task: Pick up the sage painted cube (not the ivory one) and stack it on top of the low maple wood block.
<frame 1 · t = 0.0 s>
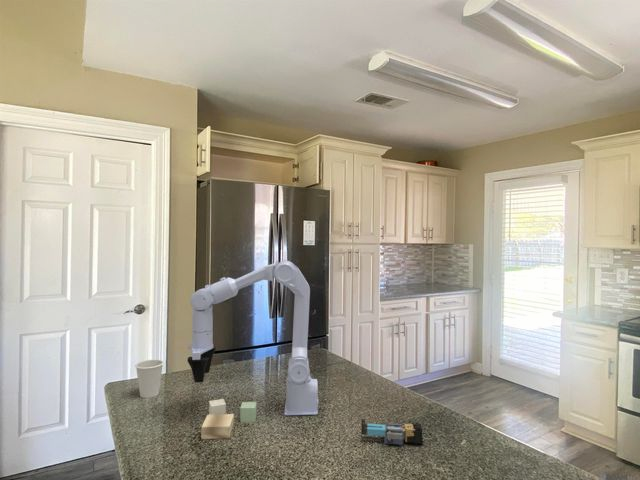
hand: (202, 377, 112), 10 cm above the countertop, fingers open, 7 cm apart
ivory block: (217, 416, 109), on the countertop
toy: (391, 442, 96), on the countertop
sage block: (248, 419, 108), on the countertop
maple block: (218, 431, 100), on the countertop
dixie cup: (149, 394, 124), on the countertop
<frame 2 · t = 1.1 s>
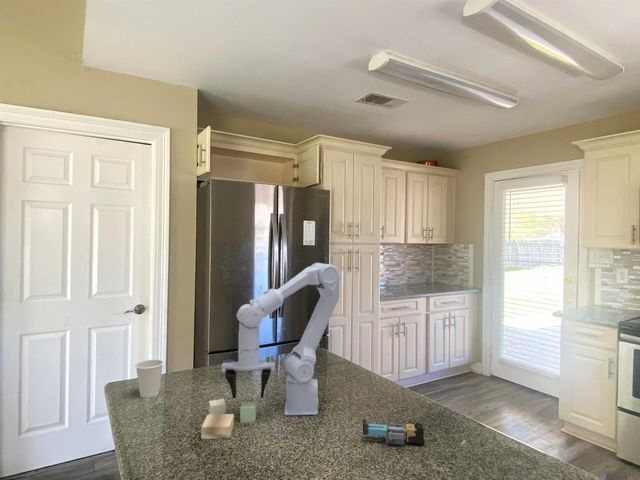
hand: (248, 396, 108), 6 cm above the countertop, fingers open, 7 cm apart
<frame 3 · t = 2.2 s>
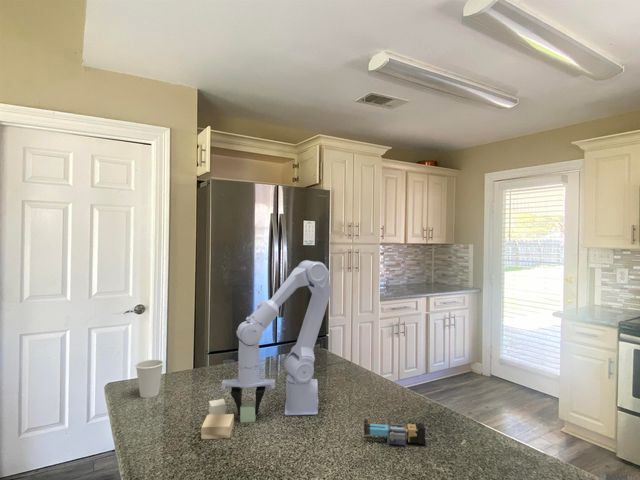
hand: (248, 413, 108), 1 cm above the countertop, fingers closed on sage block, 4 cm apart
sage block: (248, 418, 108), on the countertop, touching gripper
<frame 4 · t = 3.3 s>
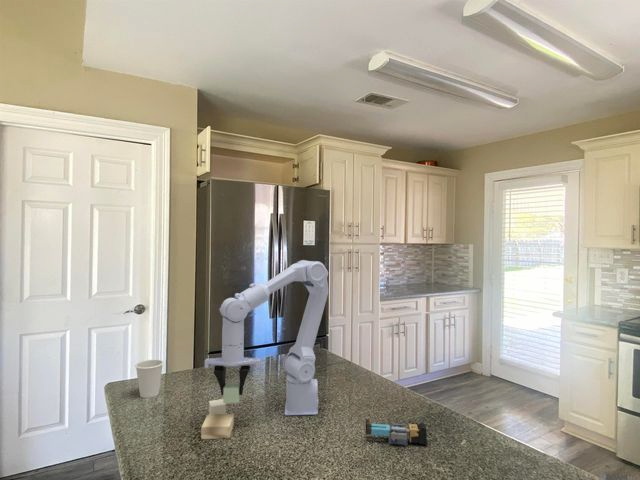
hand: (232, 393, 104), 9 cm above the countertop, fingers closed on sage block, 4 cm apart
sage block: (232, 400, 104), point 7 cm above the countertop, touching gripper
when the fingers open (5 cm above the countertop, at t = 4.5 s): sage block stays where it is, resting on maple block.
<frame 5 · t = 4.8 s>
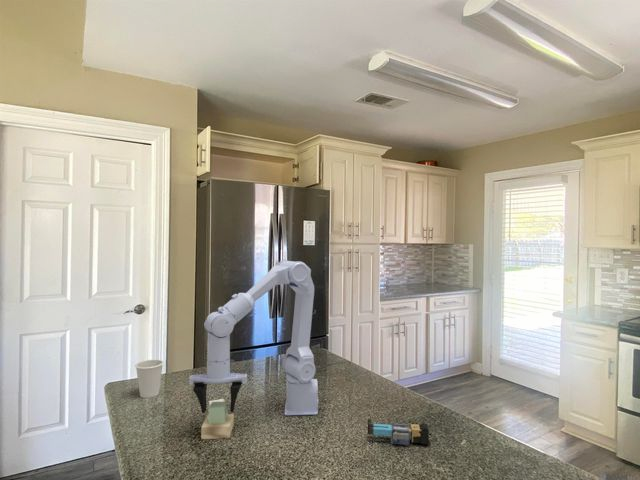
hand: (218, 411, 100), 5 cm above the countertop, fingers open, 7 cm apart
sage block: (218, 420, 100), point 3 cm above the countertop, touching maple block
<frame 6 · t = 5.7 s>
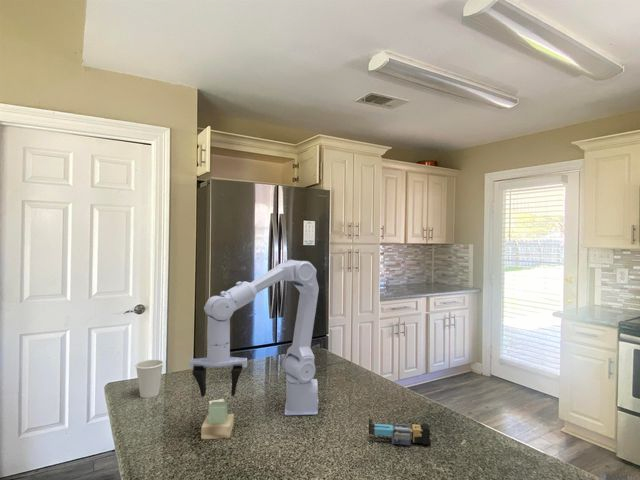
hand: (218, 394, 100), 10 cm above the countertop, fingers open, 7 cm apart
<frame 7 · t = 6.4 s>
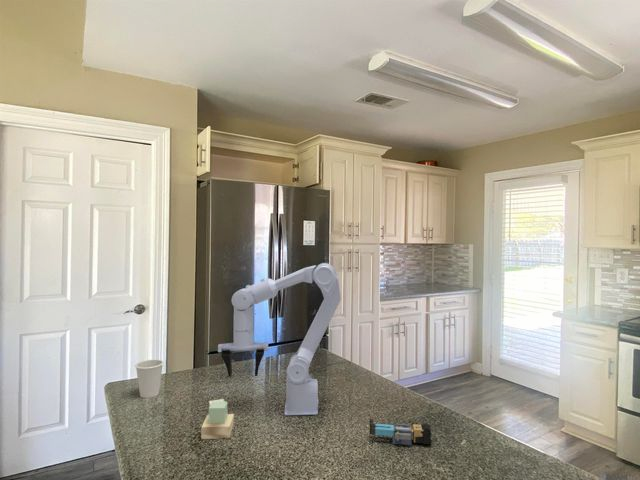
hand: (243, 375, 114), 10 cm above the countertop, fingers open, 7 cm apart
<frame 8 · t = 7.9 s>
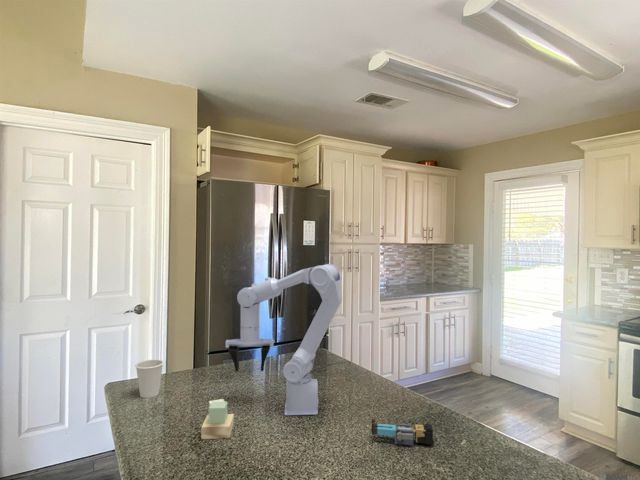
hand: (249, 370, 119), 10 cm above the countertop, fingers open, 7 cm apart
at the end: sage block 0.0 cm off-centre on the maple block, point 3.0 cm above the maple block's base; sage block tilted 0°; sage block touching maple block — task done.
